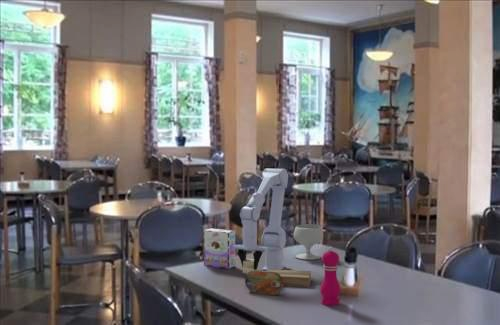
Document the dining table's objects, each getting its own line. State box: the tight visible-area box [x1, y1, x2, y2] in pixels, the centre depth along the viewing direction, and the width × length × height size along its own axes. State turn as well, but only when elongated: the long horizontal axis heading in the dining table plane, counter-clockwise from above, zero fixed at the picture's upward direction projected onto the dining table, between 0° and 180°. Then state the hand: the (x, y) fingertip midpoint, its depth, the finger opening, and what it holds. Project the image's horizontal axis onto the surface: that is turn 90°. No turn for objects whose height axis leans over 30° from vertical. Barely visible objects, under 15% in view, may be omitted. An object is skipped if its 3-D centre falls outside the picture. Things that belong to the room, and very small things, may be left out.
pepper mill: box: [319, 246, 342, 307], centre depth 200 cm, size 7×7×20 cm
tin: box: [244, 269, 284, 296], centre depth 213 cm, size 15×3×8 cm, turn 62°
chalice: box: [293, 223, 324, 261], centre depth 270 cm, size 14×14×15 cm
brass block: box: [265, 269, 312, 288], centre depth 227 cm, size 10×18×4 cm, turn 79°
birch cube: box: [242, 258, 258, 275], centre depth 233 cm, size 4×4×5 cm
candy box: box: [203, 227, 236, 270], centre depth 253 cm, size 14×6×16 cm, turn 58°
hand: (250, 268), depth 233 cm, fingers closed on birch cube, 4 cm apart
